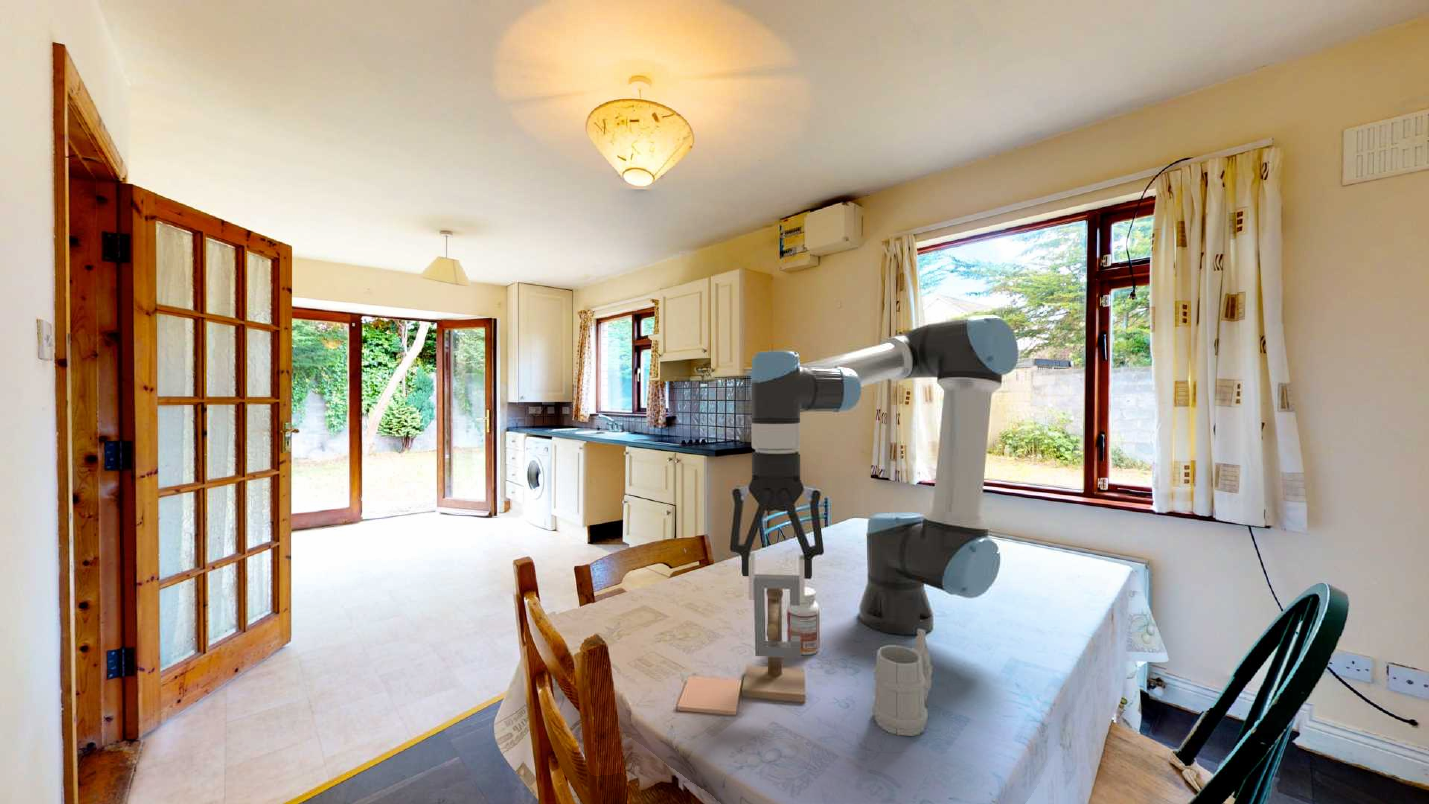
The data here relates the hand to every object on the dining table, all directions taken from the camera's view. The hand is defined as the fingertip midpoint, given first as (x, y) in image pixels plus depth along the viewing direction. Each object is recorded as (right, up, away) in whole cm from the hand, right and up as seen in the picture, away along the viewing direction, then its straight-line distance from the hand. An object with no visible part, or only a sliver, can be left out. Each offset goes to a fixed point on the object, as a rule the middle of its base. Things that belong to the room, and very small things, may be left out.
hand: (776, 597), depth 81 cm
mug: (+19, -17, -3) cm, 26 cm away
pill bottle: (+7, -17, +19) cm, 27 cm away
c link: (0, -9, 0) cm, 9 cm away
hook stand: (0, -17, +1) cm, 17 cm away
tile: (-10, -17, +2) cm, 20 cm away
